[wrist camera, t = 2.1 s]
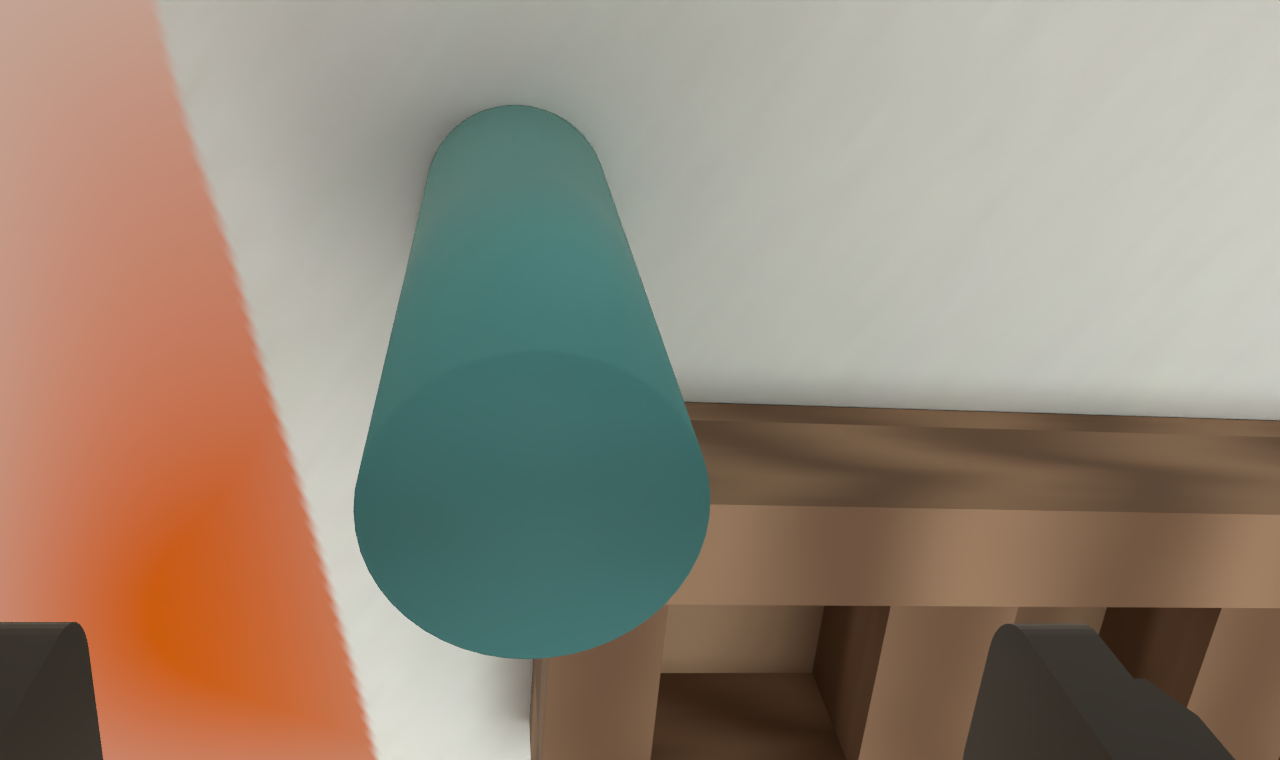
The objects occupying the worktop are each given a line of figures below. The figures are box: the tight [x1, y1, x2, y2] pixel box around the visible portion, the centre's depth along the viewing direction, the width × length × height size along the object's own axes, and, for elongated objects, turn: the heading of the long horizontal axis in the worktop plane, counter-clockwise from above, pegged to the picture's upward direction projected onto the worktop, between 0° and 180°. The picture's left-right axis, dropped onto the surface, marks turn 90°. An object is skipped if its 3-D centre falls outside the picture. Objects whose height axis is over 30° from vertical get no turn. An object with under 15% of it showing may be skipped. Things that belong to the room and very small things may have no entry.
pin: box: [354, 105, 710, 659], centre depth 19 cm, size 4×4×14 cm
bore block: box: [530, 402, 1280, 760], centre depth 29 cm, size 26×10×5 cm, turn 85°
